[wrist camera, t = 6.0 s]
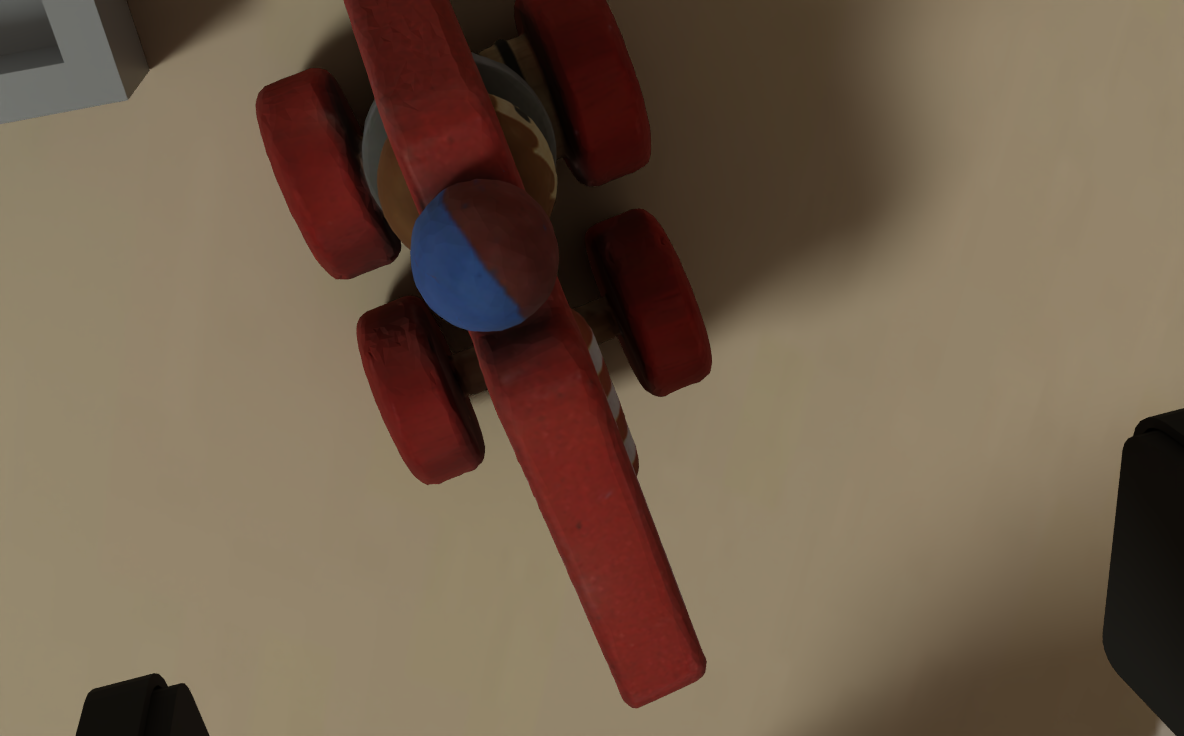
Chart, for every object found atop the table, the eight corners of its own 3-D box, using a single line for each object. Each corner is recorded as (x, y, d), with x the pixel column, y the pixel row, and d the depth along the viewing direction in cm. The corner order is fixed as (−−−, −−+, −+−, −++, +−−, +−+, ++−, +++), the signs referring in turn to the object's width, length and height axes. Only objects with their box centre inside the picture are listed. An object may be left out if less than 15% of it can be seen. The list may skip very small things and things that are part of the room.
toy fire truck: (541, -135, 22) (705, -117, 12) (693, 379, 28) (879, 647, 18) (208, -18, 21) (125, 89, 12) (434, 479, 27) (494, 803, 18)
